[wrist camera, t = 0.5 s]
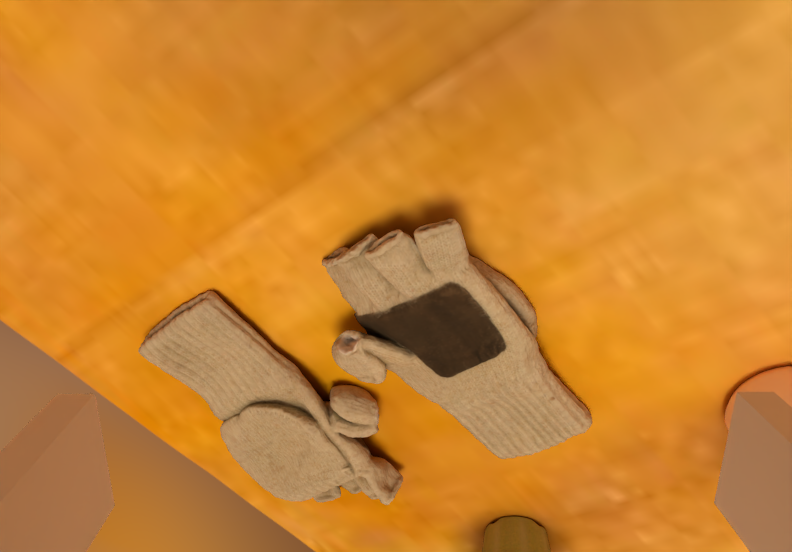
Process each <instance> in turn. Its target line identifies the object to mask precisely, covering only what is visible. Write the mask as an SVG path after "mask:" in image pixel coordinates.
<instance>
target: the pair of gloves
mask: <svg viewBox="0 0 792 552" xmlns="http://www.w3.org/2000/svg"><path fill="white" fill-rule="evenodd" d="M414 238H415V241H414V240H413V239H412V238H411V236H410V235H408V234H406V233H404V232H402V231H401V230H400V229H398V230H394V231H391V232H389V233H388V234H386V235H385V236H383V237H382V238H380V239H378V238H377V237H376V236H375V235H374V234H368V235H367V236H366V237H365V238H364V239H363V240H361V241H359V242H358V243H356V244H355V245H354V246H352V247H351V248H350V249H348V248H346V247H342V248H339V249H337V250H336V251H334V252H333V254H331V255H330V256H328V257H327V259H323V260H322V265H323V266H325V267H326V268H327V272H328V273H329V275H330V276H331V278H332V279H333V281H334V282H335V283H336V285H337V286H338V287H339V289H340V291H341V293H342V296H343V298H345V299H346V300H347V302H348V303H349V304H350V305H351V306H352V308H353V309H354V310H355V311H356V313H355V314H354V315H355V317H356V319H357V321H358V322H359V323H360V324H361V326H362V327H363V328H364V329H365V330H366V331H367V334H365V333H362V332H360V331H355V330H346V331H344V332H343V333H342V334H341V335H340V336H339V337H338V338H337V339H336V341H335V342H334V344H333V346H332V355H333V358H334V360H335V362H336V363H337V364H338V365H339V366H340V367H341V368H342V369H343V370H345V371H346V372H347V373H349V374H351V375H353V376H355V377H356V378H358V379H359V380H360V381H363V382H368V383H376V384H379V383H382V382H383V381H384V380H385V378H386V372H387V370H386V369H388V370H391V371H393V372H395V373H396V374H397V375H398V376H399V377H401V378H402V379H403V380H404V381H405V382H406V383H407V384H408V385H410V386H411V387H412V388H413V389H415V390H416V391H417V392H418V393H419V394H421V395H423V396H424V397H426V398H427V399H429V400H431V401H432V402H434V403H438V404H439V405H440V406H441V407H442V408H443V409H445V410H446V411H447V412H448V413H450V414H452V415H453V416H454V417H455V418H456V419H457V420H458V421H459V422H460V423H461V424H462V425H463V426H464V427H465V428H467V429H468V430H469V431H470V432H471V433H472V434H473V435H474V436H475V437H476V439H478V440H479V441H480V442H482V443H483V444H484V445H485V446H486V447H487V448H488V449H489V450H490V451H491V452H492V453H493V454H495V455H496V456H498V457H499V458H501V459H506V458H515V457H517V456H525V455H532V454H534V453H535V452H540V451H542V450H544V449H549V448H550V447H551V446H556V445H558V444H559V443H560V442H565V441H566V440H567V438H570V437H572V436H573V435H575V436H576V435H578V434H581V433H585V432H586V431H587V430H588V428H589V427H590V426H591V424H592V417H591V414H590V412H589V411H588V409H587V408H586V407H585V405H584V404H583V403H582V402H580V401H579V400H578V399H577V398H576V396H575V395H574V394H573V393H571V391H570V390H569V389H567V387H566V386H564V385H563V384H562V382H561V381H560V380H559V378H557V377H556V376H554V374H553V373H552V371H551V370H550V369H549V368H548V366H547V364H546V361H545V359H544V358H543V357H542V355H541V354H540V352H539V348H538V343H537V341H536V339H535V338H536V336H537V318H536V313H535V311H534V309H533V307H532V305H531V304H530V302H529V301H528V300H527V299H526V298H525V296H524V294H523V292H522V291H521V290H520V289H519V288H518V287H517V286H516V285H515V284H514V283H513V282H511V281H510V280H509V279H508V278H506V277H505V276H504V275H502V274H500V273H498V272H496V271H494V270H493V269H492V268H491V267H489V266H487V265H486V264H485V263H483V262H482V261H481V260H479V259H477V258H475V257H472V256H470V255H469V253H468V250H467V247H466V243H465V240H464V237H463V234H462V230H461V227H460V225H459V223H458V222H457V221H456V220H455V219H453V218H451V219H447V220H445V221H440V222H438V223H431V224H427V225H423V226H420V227H419V228H417V229H416V230H415V231H414ZM415 242H416V243H415ZM416 244H417V245H416ZM139 353H140V354H141V355H142V356H143V357H144V358H146V359H147V360H148V361H150V362H151V363H153V364H155V365H156V366H158V367H160V368H161V369H162V370H163V371H165V372H166V373H168V374H170V375H172V376H173V377H175V378H176V379H178V380H180V381H181V382H182V383H184V384H186V385H187V386H189V387H190V388H191V389H192V390H194V391H196V392H197V393H198V394H200V395H201V396H202V397H203V398H204V399H205V400H206V402H207V403H208V404H209V406H210V409H211V410H212V412H213V413H214V415H215V416H217V417H218V418H219V419H220V420H222V421H224V422H223V424H222V426H221V428H220V431H221V437H222V439H223V440H224V442H225V443H226V445H227V448H228V451H229V452H230V453H231V455H232V456H233V458H234V459H235V460H236V461H237V462H238V463H239V464H240V466H241V467H242V468H243V469H244V470H245V471H246V472H247V473H248V474H249V475H250V476H251V477H252V478H253V479H254V480H256V481H257V482H258V484H259V485H261V486H262V487H263V488H264V489H266V490H267V491H269V492H270V493H272V495H274V496H275V497H278V498H281V499H285V500H289V501H305V500H309V499H311V498H312V497H313V498H314V500H316V501H317V502H326V501H331V500H334V499H336V498H339V497H340V496H341V491H340V488H339V486H340V485H341V486H342V487H344V488H345V489H347V490H348V491H349V492H350V493H354V494H356V493H359V492H360V491H363V492H364V493H365V494H366V495H368V496H369V497H370V498H371V499H380V501H381V503H383V504H385V505H389V504H390V502H391V501H392V500H393V499H394V498H395V495H396V493H397V491H398V489H399V488H400V487H401V483H402V482H403V477H402V475H401V474H400V473H399V472H398V471H397V470H396V469H395V468H394V467H393V466H392V465H391V464H390V463H389V462H387V461H386V460H385V459H383V458H380V457H373V456H372V455H371V453H370V450H369V448H368V447H367V445H366V444H365V443H364V441H363V440H362V439H361V438H363V437H369V436H371V435H373V434H375V433H377V432H378V430H379V428H378V425H377V424H378V419H379V414H378V410H379V408H378V405H377V401H376V400H375V399H374V398H373V397H372V396H371V395H370V393H369V392H367V391H366V390H364V389H363V388H360V387H357V386H352V385H339V386H335V387H333V388H332V389H331V391H330V401H326V402H324V401H322V399H321V397H320V396H319V395H318V394H317V392H316V391H315V390H314V389H313V387H312V385H311V384H310V383H309V381H308V380H307V379H306V378H305V377H304V376H303V375H302V373H301V371H300V370H299V369H298V367H297V366H296V365H295V364H294V363H292V362H291V361H289V360H288V359H287V358H285V357H284V356H283V355H281V354H280V353H278V352H277V351H276V350H275V349H273V348H272V347H271V345H270V344H269V343H268V342H267V341H266V340H265V339H264V338H263V337H262V336H261V335H260V334H258V333H257V332H256V331H255V330H254V329H253V328H252V327H251V326H250V325H249V324H248V323H247V322H245V321H244V320H243V319H242V318H241V317H240V316H238V315H237V314H236V312H235V311H234V310H233V309H232V308H231V307H230V306H228V305H227V304H226V303H225V302H224V301H223V300H222V299H221V298H220V297H219V296H218V295H217V294H216V293H215V292H213V291H207V292H206V293H204V294H200V295H199V294H198V296H197V297H196V298H195V299H192V300H191V301H189V302H188V303H185V304H183V305H181V307H180V308H177V309H176V310H174V311H173V312H172V313H171V314H170V315H169V316H167V318H166V319H164V320H162V321H161V323H160V324H157V326H156V327H155V328H153V329H152V330H151V331H150V333H149V335H148V336H146V338H145V340H144V342H143V343H142V344H141V347H140V348H139Z"/></svg>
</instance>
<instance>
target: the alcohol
mask: <svg viewBox="0 0 792 552" xmlns="http://www.w3.org/2000/svg"><path fill="white" fill-rule="evenodd" d="M737 392H775V393H776V394H777V395H778V396H779V397H780V398H782V399H783V400H784V401H785V402H786V403H787V404H789V405H790V406H791V407H792V366H785V367H780V368H774V369H771V370H767V371H764V372H762V373H759V374H757V375H755V376H753V377H751V378H750V379H748V380H747V381H745V382H744V383H743V384H741V385H740V386H739V387H738V388H737V389H736V391H735V392H734V393H733V394H732V396H731V398H730V400H729V403H728V405H727V408H726V411H725V424H726V427H727V429H728V432H729V428H730V423H731V418H732V413H733V408H734V404H735V399H736V394H737Z"/></svg>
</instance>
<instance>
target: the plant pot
mask: <svg viewBox="0 0 792 552" xmlns="http://www.w3.org/2000/svg"><path fill="white" fill-rule="evenodd" d="M482 552H551V550H550V546H549V541H548V537H547V533H546V530H545V529H544V527H541V526H539V525H537V524H536V523H535V522H534V521H533V520H531V519H528V518H524V517H514V516H512V517H503V518H500V519H499V520H498V521H497V522H495V523H493V524H489V525H488V526H487V527H486V530H485V535H484V541H483V549H482Z"/></svg>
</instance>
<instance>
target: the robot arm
mask: <svg viewBox="0 0 792 552" xmlns="http://www.w3.org/2000/svg"><path fill="white" fill-rule="evenodd" d="M714 503H715V504H716V506H717V507H718V509H719V510H720V511H721V513H722V514H723V515H724V517H725V518H726V519H727V521H728V522H729V524H730V525H731V526H732V528H733V529H734V530H735V532H736V533H737V534H738V536H739V537H740V539H741V540H742V541H743V543H744V544H745V545H746V547H747V548H748V549H749V551H750V552H792V407H791V406H790V405H789V404H787V403H786V402H785V401H784V400H783V399H782V398H780V397H779V396H778V395H777V394H776V393H775V392H737V394H736V399H735V404H734V408H733V413H732V418H731V423H730V428H729V433H728V438H727V443H726V448H725V452H724V457H723V462H722V467H721V472H720V477H719V482H718V487H717V491H716V496H715V501H714ZM114 506H115V505H114V499H113V494H112V487H111V482H110V476H109V470H108V464H107V459H106V454H105V447H104V441H103V436H102V430H101V425H100V418H99V413H98V407H97V401H96V395H95V394H57V395H56V396H55V397H54V398H53V399H52V400H51V401H50V402H49V403H48V404H47V405H46V406H45V407H44V408H43V409H42V410H41V411H40V412H39V413H38V414H37V415H36V416H35V417H34V418H33V419H32V420H31V421H30V422H29V423H28V424H27V425H26V426H25V427H24V428H23V429H22V430H21V431H20V432H19V433H18V434H17V435H16V436H15V437H14V438H13V439H12V440H11V441H10V442H9V443H8V444H7V445H6V446H5V448H3V449H2V450H1V451H0V552H86V551H87V550H88V548H89V546H90V545H91V543H92V541H93V540H94V538H95V537H96V535H97V534H98V532H99V530H100V529H101V527H102V525H103V524H104V522H105V521H106V519H107V517H108V516H109V514H110V512H111V511H112V509H113V507H114Z"/></svg>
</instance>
